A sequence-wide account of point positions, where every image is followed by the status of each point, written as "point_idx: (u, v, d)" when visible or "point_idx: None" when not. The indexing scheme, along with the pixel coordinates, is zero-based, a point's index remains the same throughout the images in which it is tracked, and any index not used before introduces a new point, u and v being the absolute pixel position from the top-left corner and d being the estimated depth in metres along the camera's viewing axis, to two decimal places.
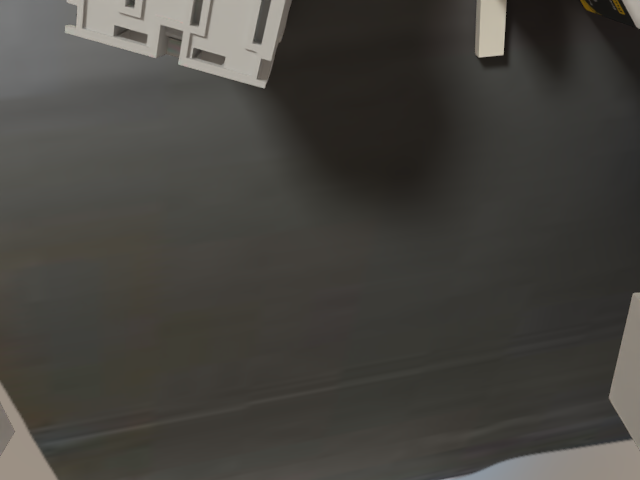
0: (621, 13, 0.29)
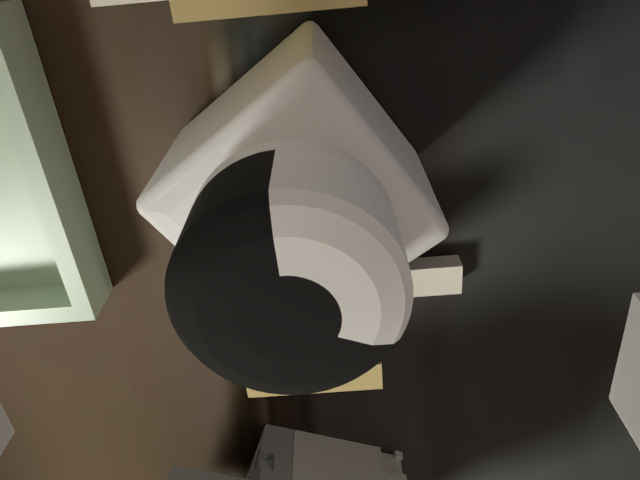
0: None
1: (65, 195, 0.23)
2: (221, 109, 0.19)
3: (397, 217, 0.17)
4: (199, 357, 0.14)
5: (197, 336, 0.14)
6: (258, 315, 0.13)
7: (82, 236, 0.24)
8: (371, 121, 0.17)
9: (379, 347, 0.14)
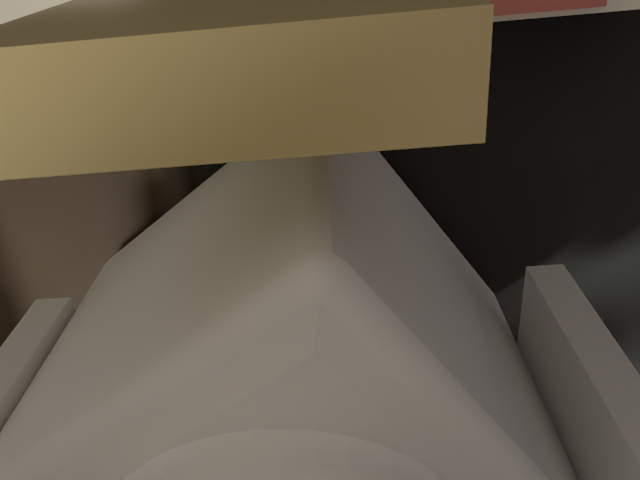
0: None
1: None
2: (150, 276, 0.10)
3: None
4: None
5: None
6: None
7: None
8: (454, 343, 0.08)
9: None
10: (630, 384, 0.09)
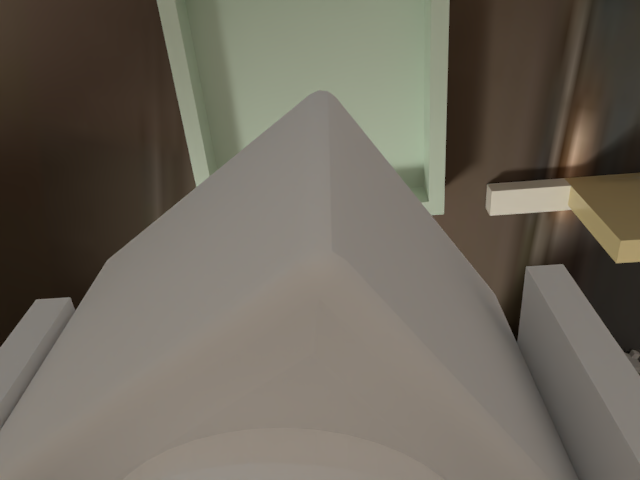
0: None
1: None
2: (150, 276, 0.10)
3: None
4: None
5: None
6: None
7: None
8: (454, 342, 0.08)
9: None
10: (629, 384, 0.09)
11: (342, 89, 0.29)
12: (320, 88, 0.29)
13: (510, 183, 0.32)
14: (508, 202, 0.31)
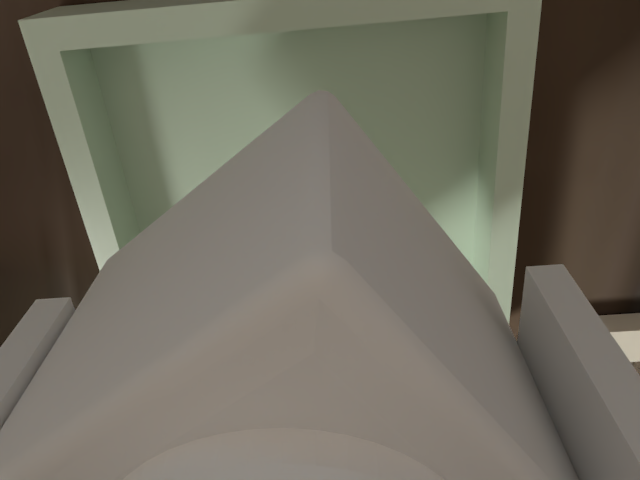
0: None
1: None
2: (150, 275, 0.10)
3: None
4: None
5: None
6: None
7: None
8: (455, 342, 0.08)
9: None
10: (630, 384, 0.09)
11: None
12: None
13: None
14: None
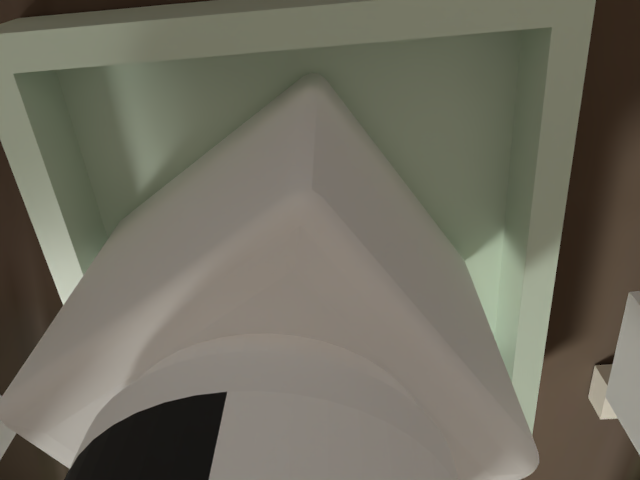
0: None
1: None
2: (162, 225, 0.12)
3: (454, 450, 0.10)
4: None
5: None
6: None
7: None
8: (414, 278, 0.10)
9: None
10: None
11: None
12: None
13: None
14: None
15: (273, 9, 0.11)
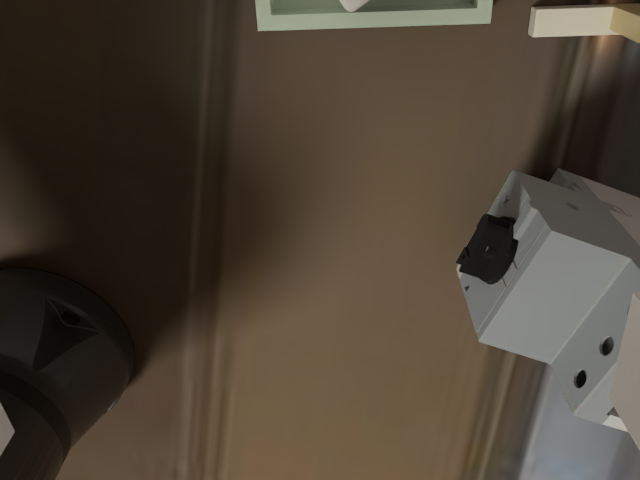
0: None
1: None
2: None
3: None
4: None
5: None
6: None
7: None
8: None
9: None
10: None
11: None
12: None
13: (554, 6, 0.33)
14: (552, 22, 0.32)
15: None
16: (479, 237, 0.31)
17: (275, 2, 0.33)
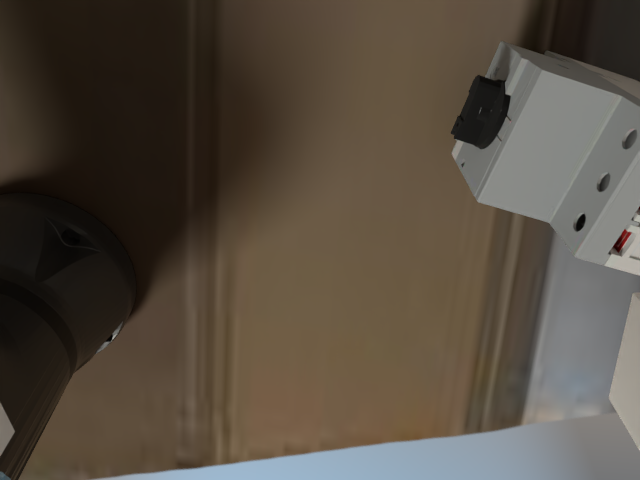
0: None
1: None
2: None
3: None
4: None
5: None
6: None
7: None
8: None
9: None
10: None
11: None
12: None
13: None
14: None
15: None
16: (472, 99, 0.32)
17: None
